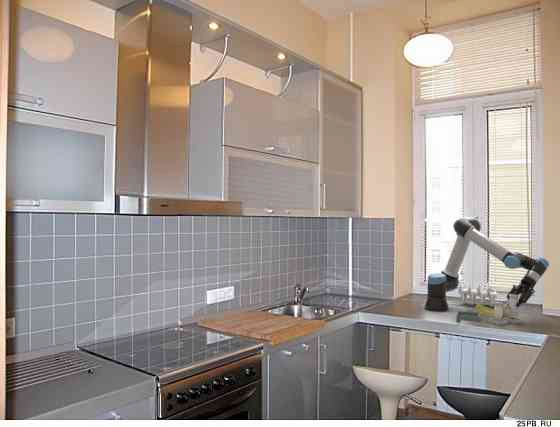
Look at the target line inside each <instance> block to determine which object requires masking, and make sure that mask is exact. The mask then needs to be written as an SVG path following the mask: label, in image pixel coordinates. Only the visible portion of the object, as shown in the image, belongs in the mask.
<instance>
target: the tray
mask: <svg viewBox="0 0 560 427" xmlns="http://www.w3.org/2000/svg"><path fill="white" fill-rule="evenodd" d="M461 320H462V321H463V320H464V321H473V322H480V313H479V312H475V311H474V312H473V311H465V310H457V311H456V322H459V323H461Z"/></svg>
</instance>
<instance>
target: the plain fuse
mask: <svg viewBox="0 0 560 427" xmlns="http://www.w3.org/2000/svg"><path fill="white" fill-rule="evenodd" d="M493 308H494V309H493V310H494V317H493V318H494V320H496V321H503V318H504V317H503V311H504V302H503V301H496V300H494V303H493Z"/></svg>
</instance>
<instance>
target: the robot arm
mask: <svg viewBox="0 0 560 427" xmlns="http://www.w3.org/2000/svg"><path fill="white" fill-rule="evenodd" d="M453 229H454V232H455V233H456V236H457V238H456V240H455V243H454V245H453V247H452V250H451V253H450V254H449V258H448V261H447V264H446V266H445V268H443V269H442V270H441V272H440V273H439V272H438V273H430V274H428V276H427V281H426V282H427V297H426V301H425V303H424V309H425V310H427V311H432V312H447V311H449V307H450V306H449V304H448V301H447V292H453V291H454V290H457V289H458V288H459V281H460V279H459V278H460V275H459V272H460V269H461V266H462V264H463V261H464V259H465V256H466V254H467V251H468V249H469V246H470V243H471V242H472V243H473V244H475V245H476V246H478V247H480V249H482V250H484V251H485V252H487V253H488V254H490V255H492V256H493V257H494V258H496V259H498V261H500V262H502V263H503V264H504V266H505V267H506V268H507V269H510V270H514V269H518V268H519V269H520V268H522V269H525V270H527V272H526V273H525V274H524V276H523V277H522V279H520V283H518V285H516V284H513V285H512V287H511V289H510V290H509V292H508V293H507V295H506V298H507V300H506V301H505V304H503V310H504V311H508V309H509V300H510V297H509V294H516V295H520V296H519V297H518V300H517V301H516V302H515V304H514V305H513V306H512V308H511V310H512V311H513V312H515V310H516V309H517V308H518V309H519V308H520V306H521V305H522V304H526V303H528V300H529V299H530V298H531V297H532V295H533V294H535V293H536V290H535V289H534V288H535V286H536V285H537V283H538V282H539V281H540V279H541V278H542V277H543V275H544V274H545V272H547V269H548V268H549V266H550V264H549V263H550V262H549V261H548V260H547V259H545V258H544V257H536V258H532V257H530V256H528V255H525V254H523V253H519V252H517V251H515V252H514V253H512V252H511V251H510V250H509V249H506V248H505V247H503V246H502V245H501V244H499V243H498V242H496V241H494V240H492V239H491V238H490V237H488V236H487V235H485V234H483V233H482V232H480V231H481V229H482V224H481V221H480V220H478V219H477V218H476V217H472V216H468V217H467V216H466V217H465V216H460V217H458V218H456V219H455V221H454V222H453Z"/></svg>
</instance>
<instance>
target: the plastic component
mask: <svg viewBox="0 0 560 427" xmlns="http://www.w3.org/2000/svg"><path fill="white" fill-rule="evenodd" d="M475 308H476V309H475V310H476V311H477V313H479V315H484V316H490V317H493V318H494V309H493V308H490V307H487V306H484V305H482V303H479V302H476V301H475ZM504 317H510V316H509V312H507V311H506V310H503V318H504Z"/></svg>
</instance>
